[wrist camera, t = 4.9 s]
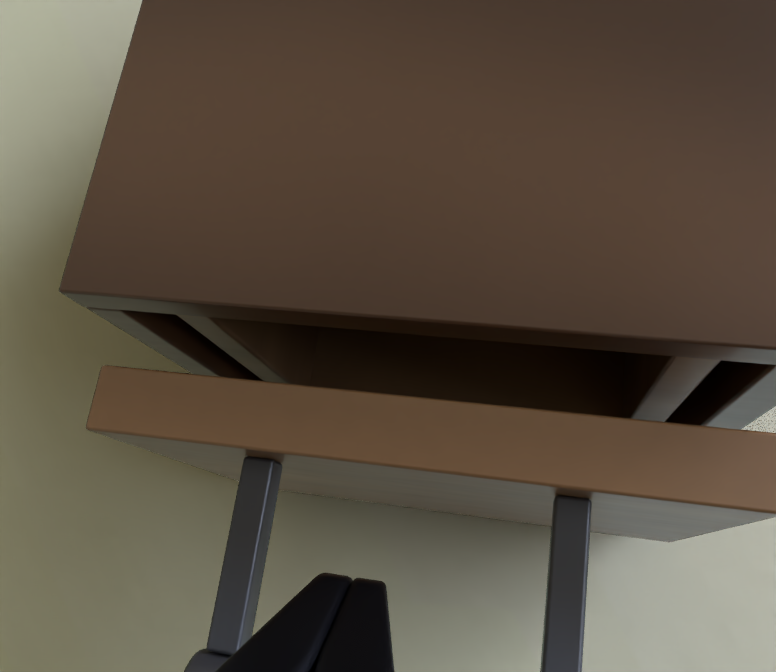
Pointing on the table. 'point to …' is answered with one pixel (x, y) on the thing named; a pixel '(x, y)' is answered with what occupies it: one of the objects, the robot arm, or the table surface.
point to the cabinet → (447, 179)
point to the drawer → (443, 447)
